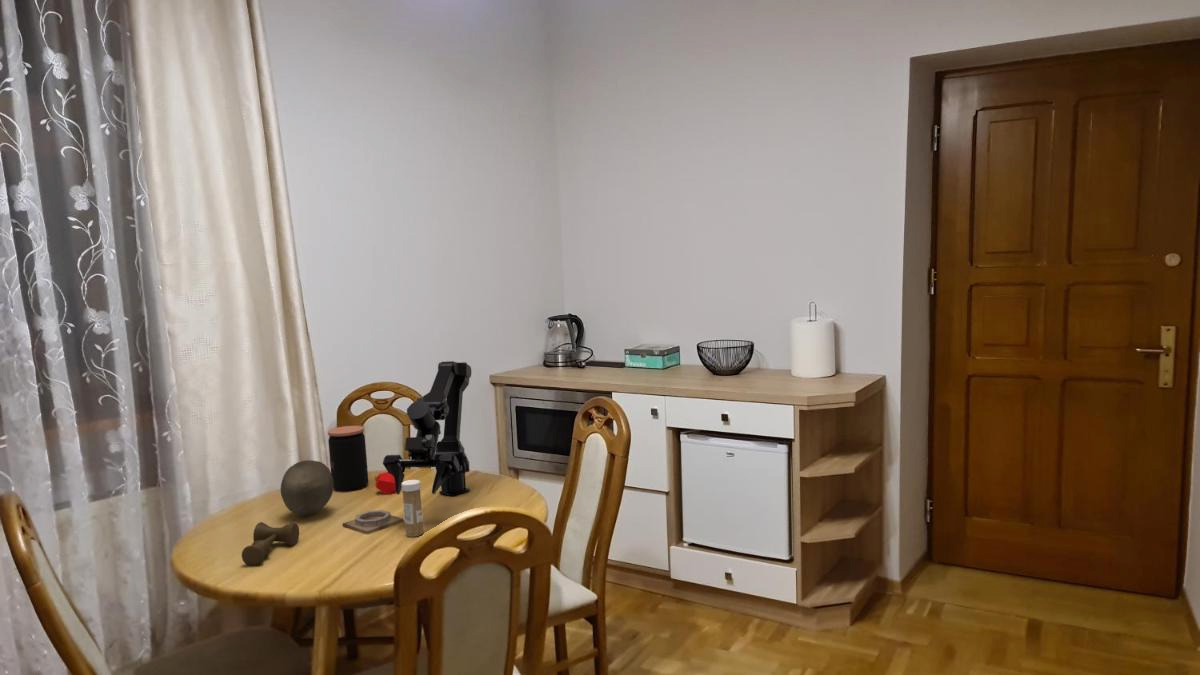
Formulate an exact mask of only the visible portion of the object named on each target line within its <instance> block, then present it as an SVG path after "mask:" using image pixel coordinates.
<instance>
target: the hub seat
mask: <svg viewBox="0 0 1200 675" xmlns="http://www.w3.org/2000/svg"><path fill="white" fill-rule="evenodd" d="M403 522H404V523H405V519H404V518H402V517H399V516H395V515H392V514H391V512H390V511H387V510H369V511H365V512H362V513H359V514H356V517H355V518H354V519H351V520H349V521H346V522H343V523H342V527H343V528H346V529H349V528H350V529H349V530H352V531H357V532H359V533H363V534H364V535H365V534H366V535H370V534H372V533H375V532H378V531H381V530H383V529H386V528H389V527H393V526H395V525H398V524H401V523H403Z"/></svg>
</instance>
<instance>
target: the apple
mask: <svg viewBox="0 0 1200 675" xmlns="http://www.w3.org/2000/svg"><path fill="white" fill-rule="evenodd" d="M374 478H375V479H374V480H375V483H374V484H375V485H374V486H375V488H376V489H377V490H379V491H380V492H382V493H384V494H385V495H390V494H395V493H396V486H395V479H394V476H393V475H392V474H389V473H388V471H386V472H380V473H379V474H378V475H375V476H374Z"/></svg>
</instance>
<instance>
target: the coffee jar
mask: <svg viewBox="0 0 1200 675" xmlns="http://www.w3.org/2000/svg"><path fill="white" fill-rule="evenodd" d="M364 432H365V427H364V426H362V425H346V426H345V425H344V426H338V427H334V428H332V429H328V430H327V434H328V436H329V437H328V450H329V461H330V462H329V463H330V472H331V474H332V477H333V484H334V486H333V490H335V492H342V493H343V492H344V493H346V492H355V491H359V490H362V489H364V488H366V487H367V485H368V484H369V473H368V472H369V471H368V459H367V448H366V447H367V445H366V437H365V434H364Z"/></svg>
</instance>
